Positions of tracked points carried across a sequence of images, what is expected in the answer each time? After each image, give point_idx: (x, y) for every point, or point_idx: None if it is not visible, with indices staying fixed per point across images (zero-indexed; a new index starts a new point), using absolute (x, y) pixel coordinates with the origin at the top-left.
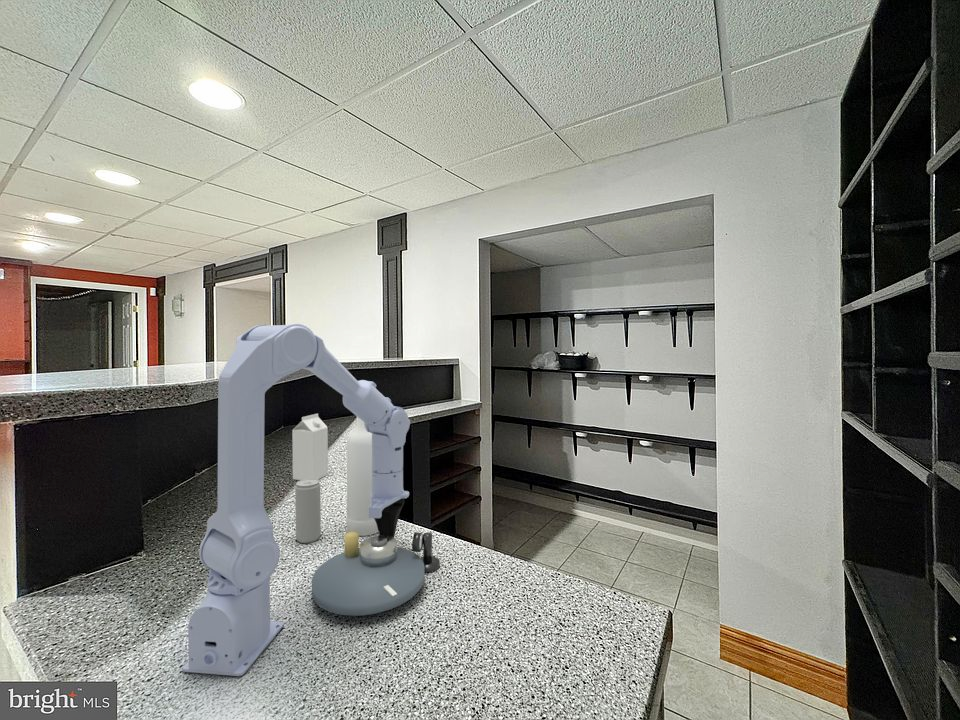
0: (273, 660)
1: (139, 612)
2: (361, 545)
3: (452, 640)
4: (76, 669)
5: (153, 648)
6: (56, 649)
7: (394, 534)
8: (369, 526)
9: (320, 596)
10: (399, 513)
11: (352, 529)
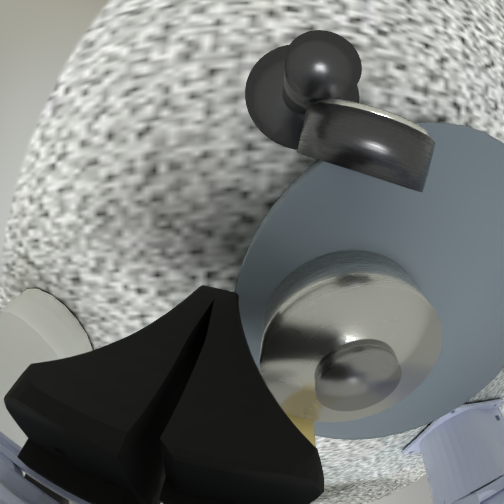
0: (499, 383)
1: (333, 497)
2: (351, 417)
3: None
4: (404, 485)
5: (406, 471)
6: (368, 500)
7: (204, 296)
8: (67, 341)
9: (468, 399)
10: (119, 352)
11: None
